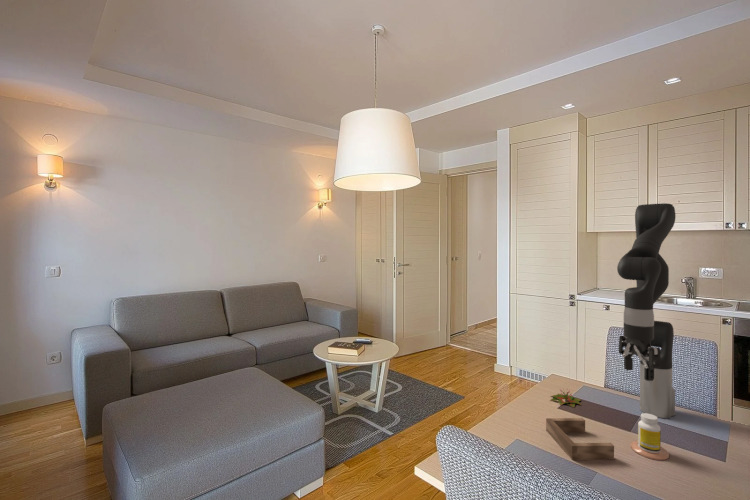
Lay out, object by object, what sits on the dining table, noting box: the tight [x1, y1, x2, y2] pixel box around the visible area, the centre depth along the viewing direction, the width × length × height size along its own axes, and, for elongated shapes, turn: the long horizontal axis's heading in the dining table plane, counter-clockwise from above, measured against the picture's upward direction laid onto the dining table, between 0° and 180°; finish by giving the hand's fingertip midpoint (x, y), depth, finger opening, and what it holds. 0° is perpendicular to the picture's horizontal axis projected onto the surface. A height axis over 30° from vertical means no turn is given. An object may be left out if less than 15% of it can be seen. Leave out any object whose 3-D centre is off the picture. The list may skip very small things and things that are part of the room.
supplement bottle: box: [637, 412, 662, 453], centre depth 107 cm, size 5×5×10 cm
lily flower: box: [550, 388, 583, 408], centre depth 141 cm, size 12×12×5 cm
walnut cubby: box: [545, 417, 615, 461], centre depth 112 cm, size 12×16×4 cm
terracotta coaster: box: [630, 440, 670, 461], centre depth 107 cm, size 9×9×1 cm
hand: (638, 374), depth 111 cm, fingers open, 8 cm apart
